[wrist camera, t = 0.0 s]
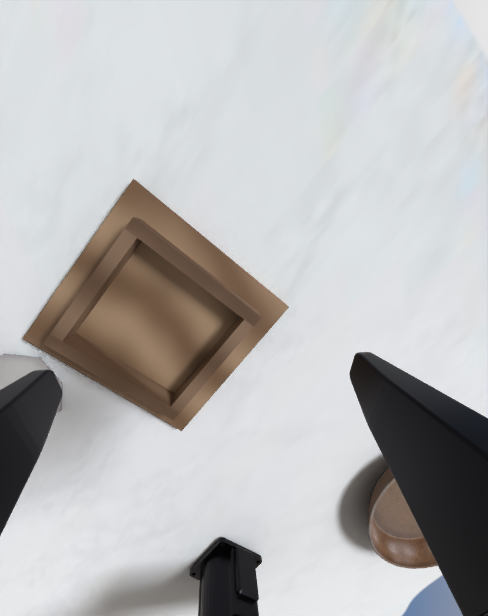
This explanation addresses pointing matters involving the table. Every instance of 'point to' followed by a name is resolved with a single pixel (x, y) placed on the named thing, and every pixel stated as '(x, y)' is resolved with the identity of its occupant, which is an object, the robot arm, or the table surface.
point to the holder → (155, 311)
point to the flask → (20, 369)
